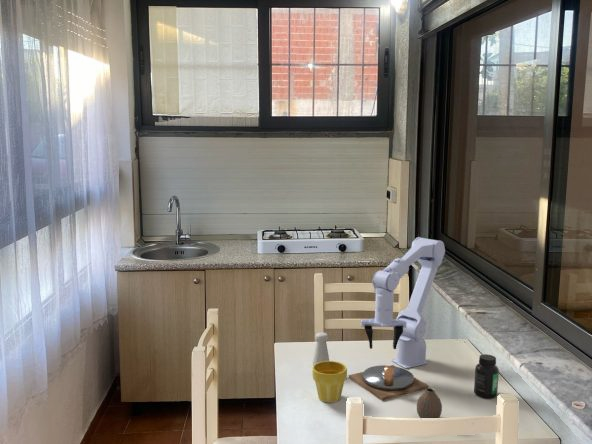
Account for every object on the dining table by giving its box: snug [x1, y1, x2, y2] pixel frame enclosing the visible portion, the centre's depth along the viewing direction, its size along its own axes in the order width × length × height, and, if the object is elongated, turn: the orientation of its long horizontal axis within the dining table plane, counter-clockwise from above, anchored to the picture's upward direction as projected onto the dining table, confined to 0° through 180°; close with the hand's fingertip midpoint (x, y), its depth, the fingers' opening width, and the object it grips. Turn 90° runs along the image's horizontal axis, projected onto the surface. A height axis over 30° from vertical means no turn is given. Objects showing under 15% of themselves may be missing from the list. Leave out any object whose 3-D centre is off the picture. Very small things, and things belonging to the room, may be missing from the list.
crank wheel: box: [362, 364, 414, 390], centre depth 190 cm, size 16×16×7 cm
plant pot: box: [312, 360, 348, 404], centre depth 179 cm, size 10×10×10 cm
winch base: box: [348, 364, 430, 402], centre depth 191 cm, size 18×18×1 cm
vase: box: [416, 387, 443, 419], centre depth 167 cm, size 7×7×9 cm
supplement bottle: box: [473, 354, 500, 400], centre depth 183 cm, size 7×7×12 cm
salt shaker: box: [312, 331, 330, 367], centre depth 198 cm, size 6×6×13 cm
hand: (382, 347), depth 195 cm, fingers open, 7 cm apart
